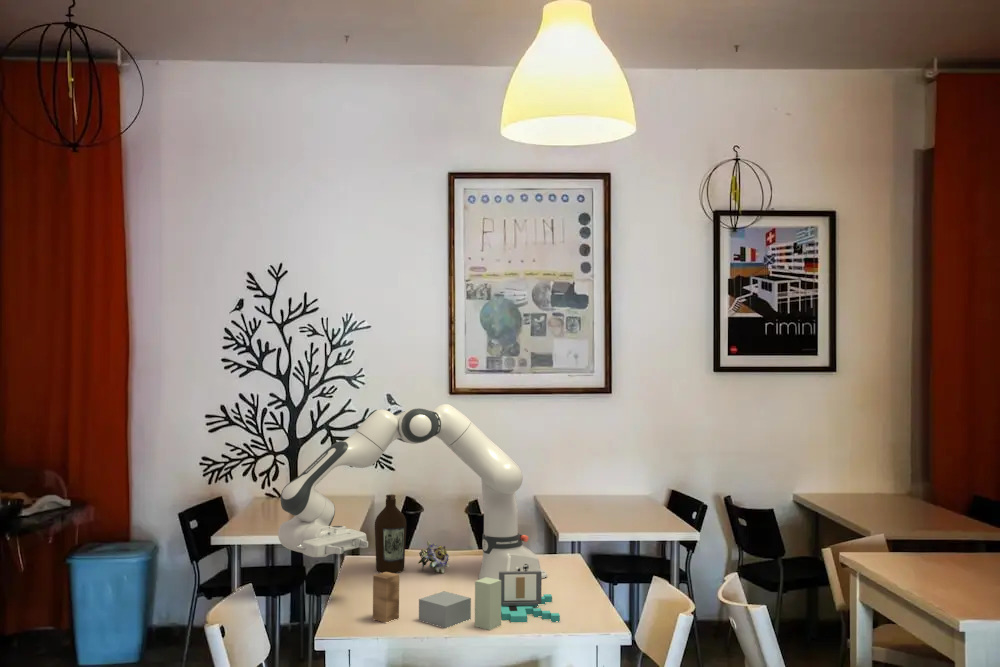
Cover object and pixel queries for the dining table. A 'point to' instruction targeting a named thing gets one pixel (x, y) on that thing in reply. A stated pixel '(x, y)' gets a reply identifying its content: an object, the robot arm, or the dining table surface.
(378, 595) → the walnut block
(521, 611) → the alien figure
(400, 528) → the olive oil
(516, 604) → the grey picture frame
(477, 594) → the sage block
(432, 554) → the passion flower
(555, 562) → the dining table surface
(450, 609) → the slate base block
